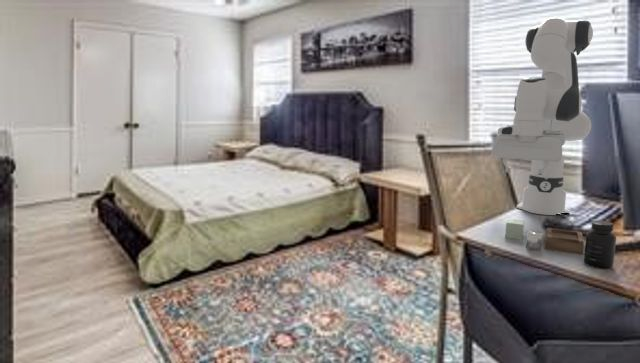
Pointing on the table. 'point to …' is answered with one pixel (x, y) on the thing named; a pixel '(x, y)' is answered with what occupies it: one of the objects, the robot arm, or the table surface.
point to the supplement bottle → (600, 245)
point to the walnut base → (564, 240)
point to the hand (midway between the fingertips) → (523, 173)
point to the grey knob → (534, 240)
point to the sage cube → (514, 229)
